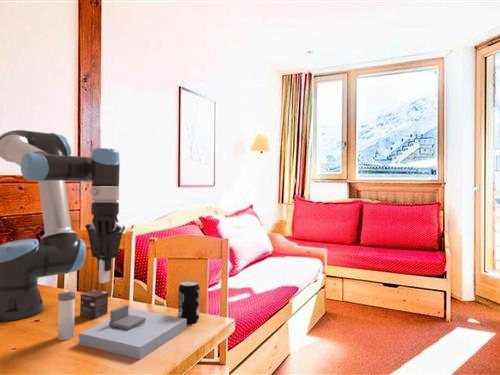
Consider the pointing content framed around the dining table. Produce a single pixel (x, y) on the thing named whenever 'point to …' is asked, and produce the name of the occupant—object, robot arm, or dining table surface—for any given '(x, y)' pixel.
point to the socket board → (134, 334)
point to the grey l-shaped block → (124, 318)
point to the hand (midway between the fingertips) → (104, 281)
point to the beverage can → (188, 301)
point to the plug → (66, 315)
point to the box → (94, 304)
